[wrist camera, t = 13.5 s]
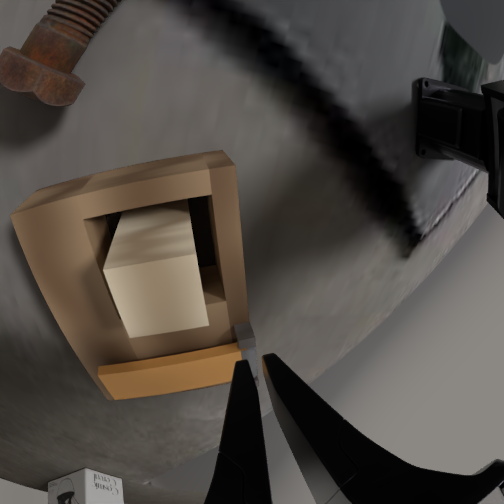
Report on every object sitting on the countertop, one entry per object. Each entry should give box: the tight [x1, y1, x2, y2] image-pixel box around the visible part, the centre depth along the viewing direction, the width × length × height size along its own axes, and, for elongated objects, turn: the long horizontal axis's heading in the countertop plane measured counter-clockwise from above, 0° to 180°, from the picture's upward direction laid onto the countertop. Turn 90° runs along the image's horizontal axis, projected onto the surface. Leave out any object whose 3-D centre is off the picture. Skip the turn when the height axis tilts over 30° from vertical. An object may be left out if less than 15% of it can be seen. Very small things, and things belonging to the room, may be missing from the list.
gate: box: [98, 342, 258, 400], centre depth 18 cm, size 11×3×1 cm, turn 94°
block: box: [10, 150, 259, 400], centre depth 18 cm, size 12×16×5 cm
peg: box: [103, 199, 209, 338], centre depth 16 cm, size 4×4×7 cm
